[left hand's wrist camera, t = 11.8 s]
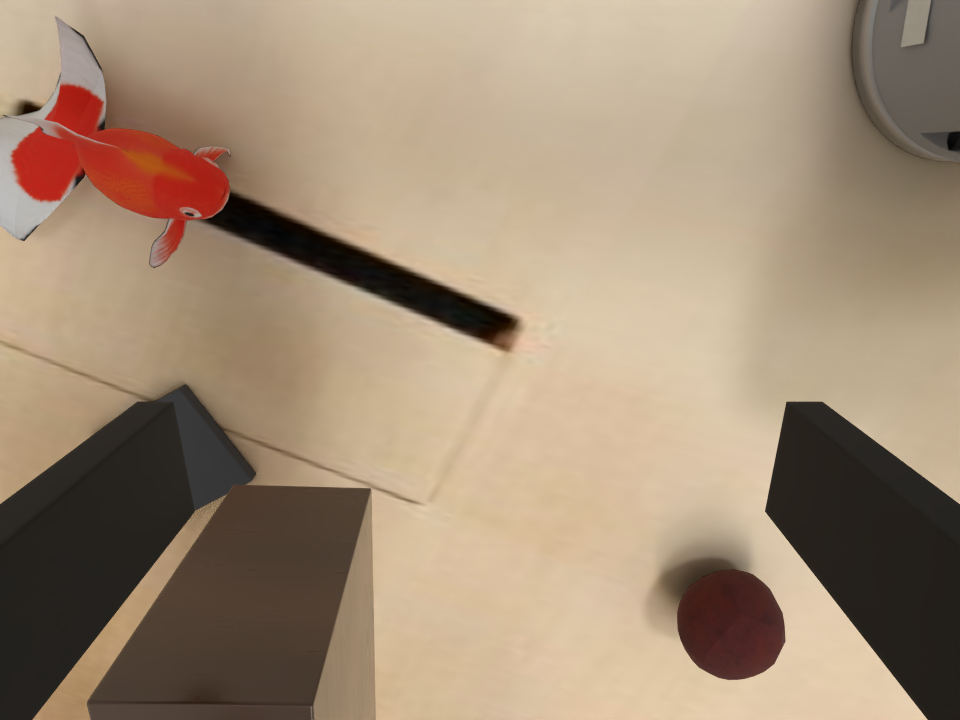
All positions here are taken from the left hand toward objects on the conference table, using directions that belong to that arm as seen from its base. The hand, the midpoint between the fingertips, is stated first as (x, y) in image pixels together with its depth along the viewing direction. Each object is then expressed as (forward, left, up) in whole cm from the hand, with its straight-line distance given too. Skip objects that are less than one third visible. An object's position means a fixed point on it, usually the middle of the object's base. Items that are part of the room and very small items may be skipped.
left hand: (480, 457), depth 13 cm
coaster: (+25, +2, -26) cm, 36 cm away
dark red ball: (-4, +32, -26) cm, 42 cm away
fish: (+15, -15, -26) cm, 33 cm away
